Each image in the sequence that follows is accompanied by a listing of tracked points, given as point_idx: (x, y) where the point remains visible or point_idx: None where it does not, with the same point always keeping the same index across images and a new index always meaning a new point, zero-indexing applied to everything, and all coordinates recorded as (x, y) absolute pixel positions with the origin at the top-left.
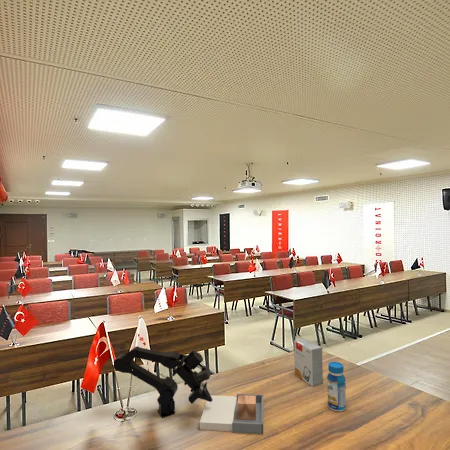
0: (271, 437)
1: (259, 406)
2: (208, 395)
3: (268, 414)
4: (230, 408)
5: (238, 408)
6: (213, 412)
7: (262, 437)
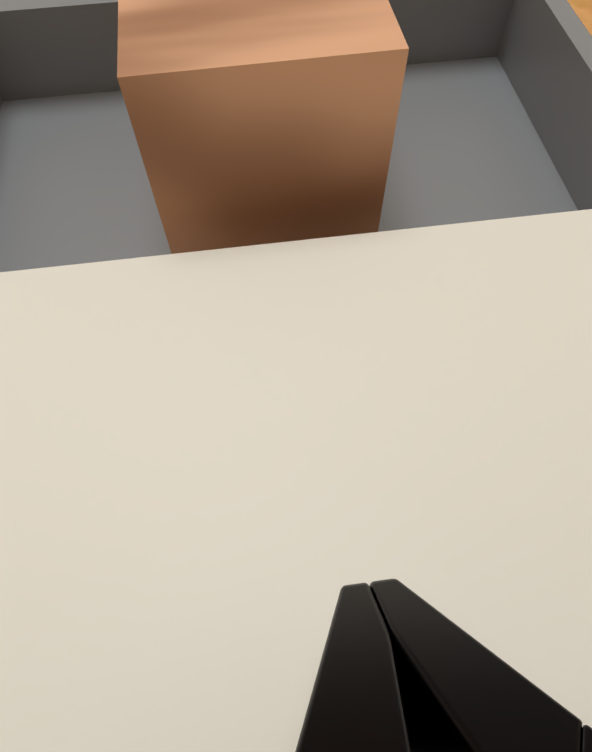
0: None
1: (78, 109)
2: (514, 707)
3: None
4: (278, 298)
5: (391, 120)
6: (490, 541)
7: None
